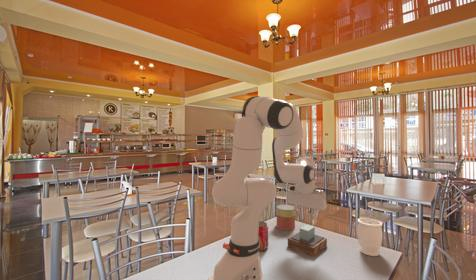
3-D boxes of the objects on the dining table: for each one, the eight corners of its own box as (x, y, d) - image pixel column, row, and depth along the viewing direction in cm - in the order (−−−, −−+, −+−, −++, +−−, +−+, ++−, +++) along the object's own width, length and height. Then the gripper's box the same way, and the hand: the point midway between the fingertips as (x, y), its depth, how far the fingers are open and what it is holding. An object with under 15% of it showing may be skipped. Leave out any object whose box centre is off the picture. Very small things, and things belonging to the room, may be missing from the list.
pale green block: (314, 236, 115) (314, 226, 115) (308, 241, 110) (308, 230, 110) (306, 233, 118) (306, 224, 118) (299, 238, 113) (299, 228, 113)
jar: (369, 245, 115) (370, 216, 115) (387, 256, 105) (388, 224, 105) (352, 248, 112) (352, 218, 112) (368, 259, 102) (369, 226, 102)
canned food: (293, 223, 145) (293, 204, 145) (296, 230, 134) (296, 210, 134) (276, 222, 146) (276, 204, 146) (276, 229, 135) (277, 209, 135)
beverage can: (251, 243, 117) (251, 220, 117) (266, 243, 117) (266, 220, 117) (253, 251, 109) (253, 227, 109) (269, 251, 110) (269, 226, 109)
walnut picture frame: (313, 256, 105) (313, 246, 105) (287, 246, 114) (287, 237, 114) (326, 246, 114) (326, 237, 114) (301, 237, 124) (301, 229, 124)
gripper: (328, 189, 110) (328, 218, 110) (291, 185, 124) (291, 210, 124) (323, 191, 105) (323, 221, 105) (285, 186, 120) (285, 212, 119)
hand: (306, 215), depth 114 cm, fingers open, 8 cm apart
